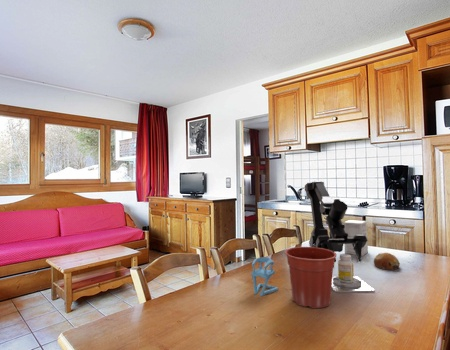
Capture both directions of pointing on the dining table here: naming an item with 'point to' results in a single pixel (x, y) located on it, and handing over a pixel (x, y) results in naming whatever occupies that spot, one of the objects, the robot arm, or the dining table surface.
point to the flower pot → (311, 275)
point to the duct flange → (350, 286)
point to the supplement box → (355, 229)
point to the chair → (263, 276)
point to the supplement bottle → (345, 269)
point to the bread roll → (386, 261)
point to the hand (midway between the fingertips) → (347, 261)
